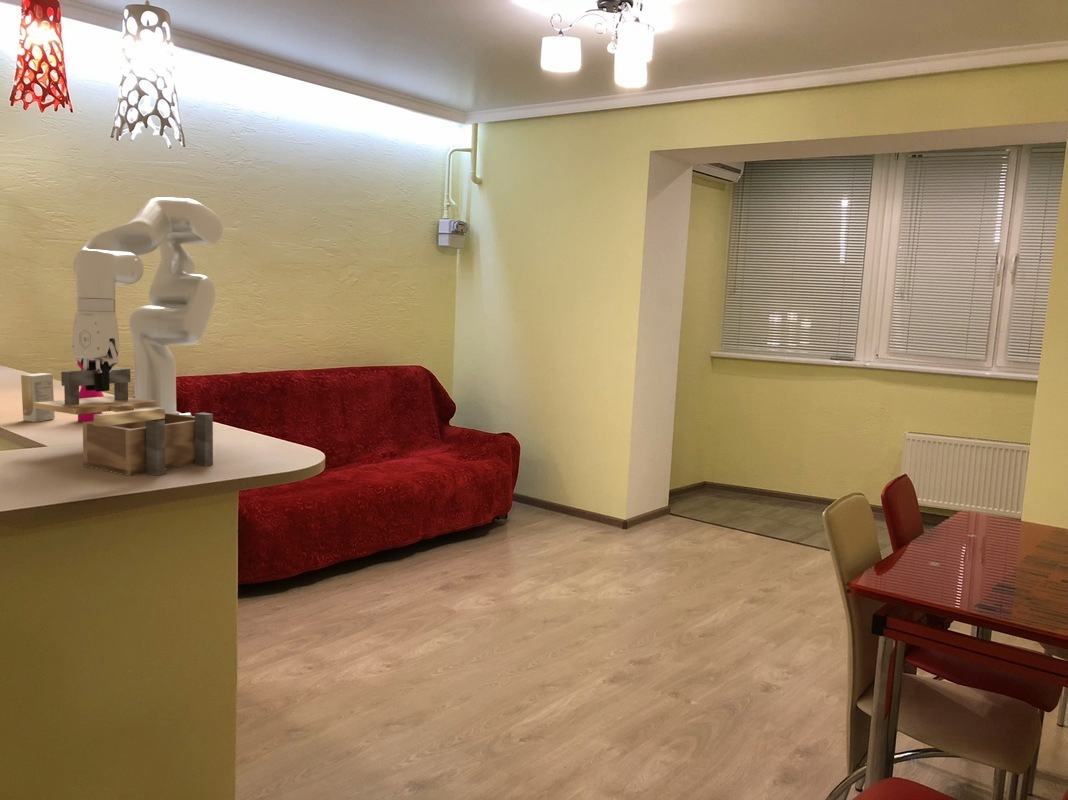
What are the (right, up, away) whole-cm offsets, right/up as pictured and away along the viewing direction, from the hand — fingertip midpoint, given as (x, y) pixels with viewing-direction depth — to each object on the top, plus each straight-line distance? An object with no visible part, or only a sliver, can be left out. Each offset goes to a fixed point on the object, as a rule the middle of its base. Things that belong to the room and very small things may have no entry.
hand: (97, 389), depth 189 cm
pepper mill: (-22, -8, +39) cm, 46 cm away
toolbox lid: (+1, -4, 0) cm, 4 cm away
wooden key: (+19, -6, -25) cm, 33 cm away
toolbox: (+18, -16, -11) cm, 26 cm away
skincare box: (-34, -8, +37) cm, 51 cm away
